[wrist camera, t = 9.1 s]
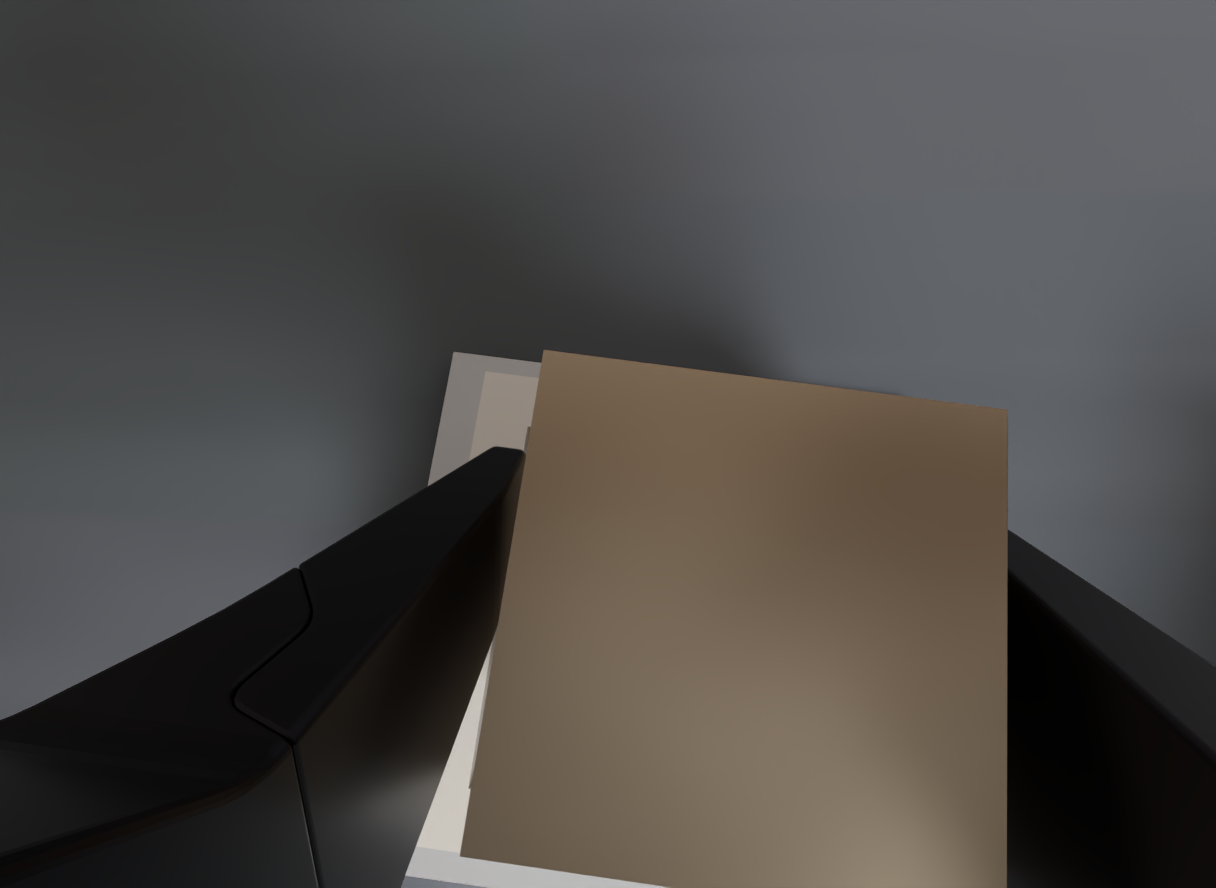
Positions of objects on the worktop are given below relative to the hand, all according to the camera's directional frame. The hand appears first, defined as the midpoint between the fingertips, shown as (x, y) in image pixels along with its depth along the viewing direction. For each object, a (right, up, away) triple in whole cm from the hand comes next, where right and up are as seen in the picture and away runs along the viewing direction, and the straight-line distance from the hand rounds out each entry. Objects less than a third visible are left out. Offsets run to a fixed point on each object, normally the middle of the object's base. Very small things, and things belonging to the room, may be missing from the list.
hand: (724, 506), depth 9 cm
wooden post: (0, -3, +8) cm, 9 cm away
